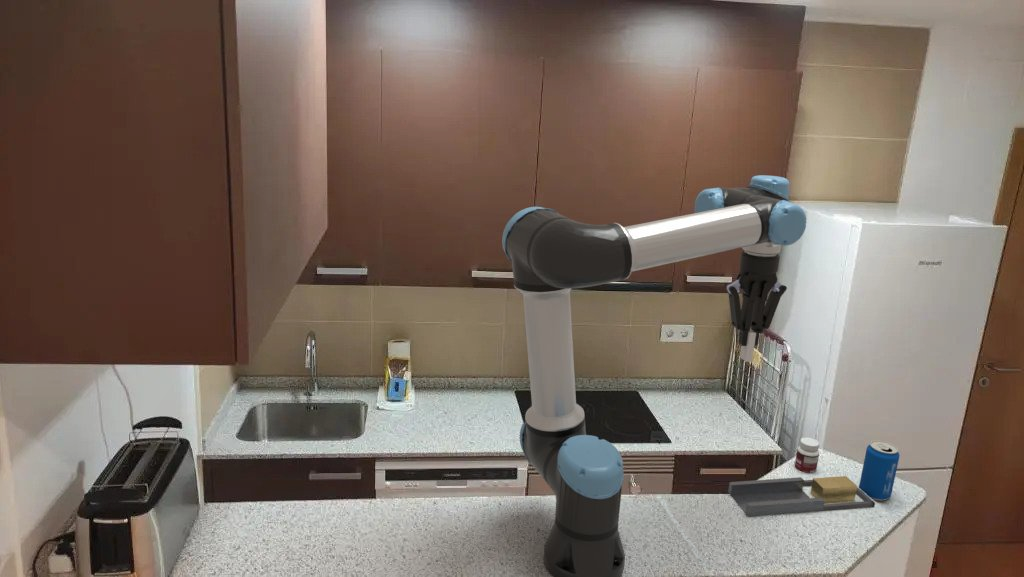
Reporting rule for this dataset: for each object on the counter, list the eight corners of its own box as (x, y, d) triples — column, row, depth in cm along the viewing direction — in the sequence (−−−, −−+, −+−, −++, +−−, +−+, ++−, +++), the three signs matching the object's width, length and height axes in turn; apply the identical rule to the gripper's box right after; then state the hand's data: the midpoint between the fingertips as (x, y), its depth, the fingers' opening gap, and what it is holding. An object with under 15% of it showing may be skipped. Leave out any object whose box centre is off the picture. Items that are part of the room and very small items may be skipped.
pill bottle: (791, 467, 169) (796, 435, 166) (812, 469, 168) (817, 437, 166) (796, 477, 164) (801, 445, 162) (817, 480, 164) (823, 447, 161)
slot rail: (747, 522, 147) (749, 506, 145) (727, 498, 155) (729, 482, 154) (821, 517, 150) (824, 500, 148) (798, 493, 158) (801, 477, 157)
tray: (821, 517, 150) (823, 506, 149) (796, 490, 159) (797, 480, 158) (872, 513, 152) (875, 502, 151) (844, 487, 161) (846, 477, 160)
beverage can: (872, 504, 155) (882, 455, 151) (851, 488, 161) (861, 440, 157) (897, 500, 156) (907, 452, 153) (875, 484, 162) (885, 437, 159)
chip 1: (820, 507, 152) (823, 488, 151) (809, 496, 156) (812, 478, 154) (837, 505, 153) (840, 487, 151) (826, 495, 156) (829, 477, 155)
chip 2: (837, 505, 153) (840, 487, 151) (826, 495, 156) (829, 477, 155) (853, 504, 153) (857, 486, 152) (842, 493, 157) (846, 476, 156)
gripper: (739, 257, 141) (725, 367, 147) (799, 256, 143) (783, 365, 150) (722, 248, 148) (709, 353, 154) (780, 247, 150) (765, 351, 157)
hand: (745, 359), depth 152 cm, fingers closed
